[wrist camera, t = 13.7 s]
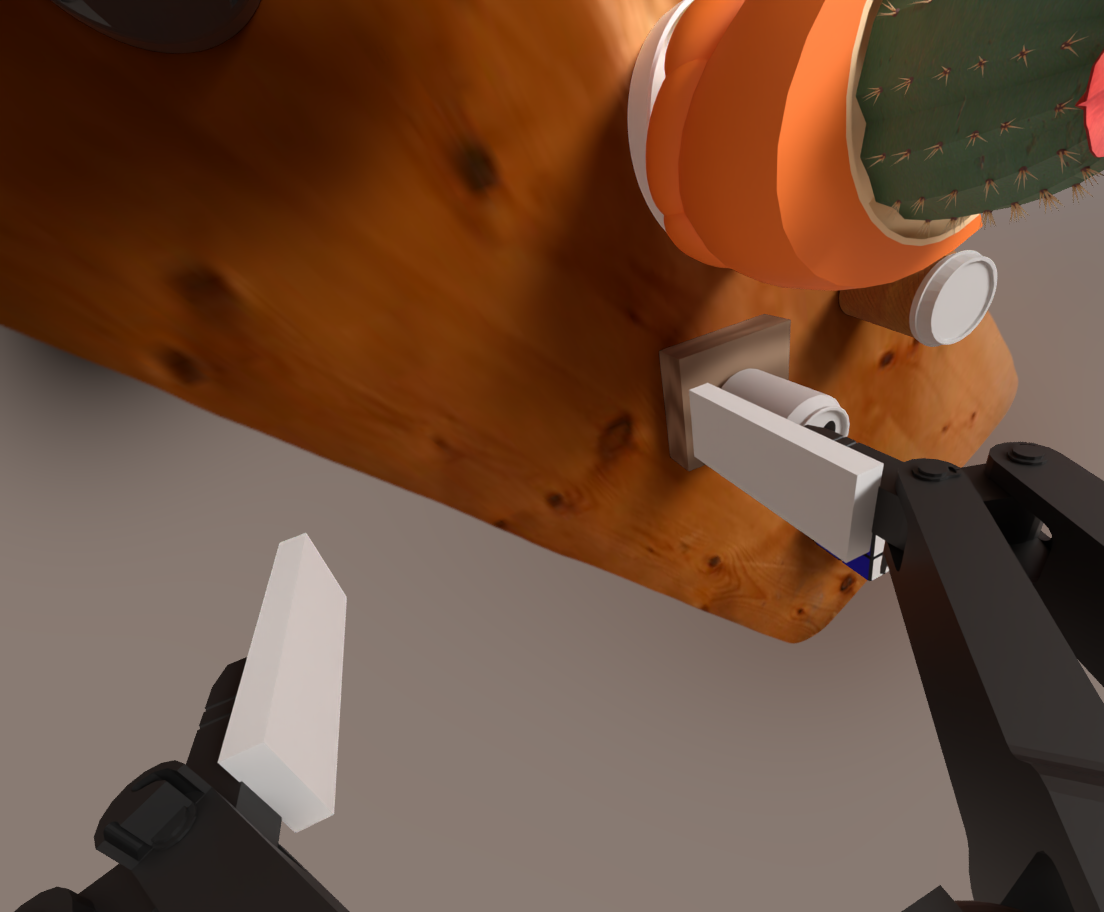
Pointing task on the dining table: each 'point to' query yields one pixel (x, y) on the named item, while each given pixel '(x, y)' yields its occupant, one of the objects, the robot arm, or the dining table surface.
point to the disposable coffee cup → (930, 299)
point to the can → (789, 400)
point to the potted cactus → (860, 128)
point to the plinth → (717, 371)
